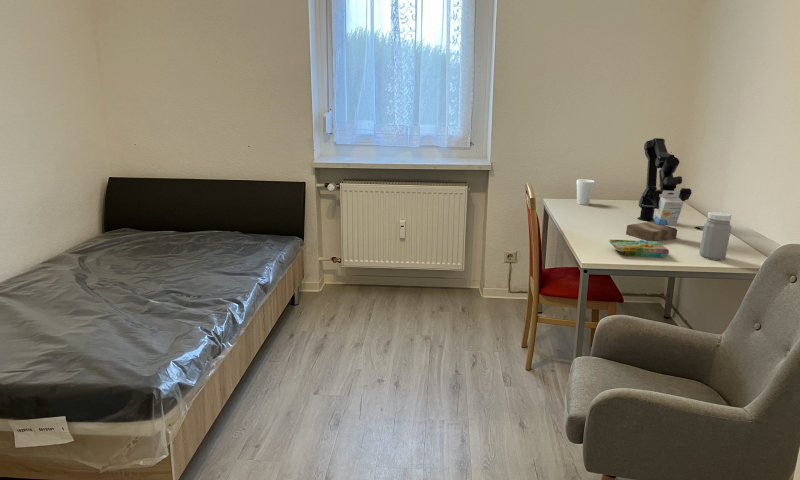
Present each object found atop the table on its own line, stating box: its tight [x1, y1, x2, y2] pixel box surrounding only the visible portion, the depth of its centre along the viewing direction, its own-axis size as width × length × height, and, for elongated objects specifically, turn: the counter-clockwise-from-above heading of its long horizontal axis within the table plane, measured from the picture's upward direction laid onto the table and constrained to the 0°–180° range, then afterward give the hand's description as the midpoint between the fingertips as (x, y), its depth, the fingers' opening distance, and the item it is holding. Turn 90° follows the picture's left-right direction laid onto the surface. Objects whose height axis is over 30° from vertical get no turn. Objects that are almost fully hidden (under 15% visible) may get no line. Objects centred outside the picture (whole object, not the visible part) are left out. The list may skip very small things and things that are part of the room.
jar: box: [699, 211, 732, 261], centre depth 243 cm, size 10×10×18 cm
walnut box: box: [625, 221, 678, 242], centre depth 273 cm, size 16×14×5 cm
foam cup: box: [576, 178, 596, 206], centre depth 335 cm, size 10×9×13 cm
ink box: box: [653, 190, 684, 226], centre depth 268 cm, size 8×5×15 cm, turn 94°
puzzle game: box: [609, 239, 670, 258], centre depth 247 cm, size 12×5×20 cm
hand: (668, 208), depth 268 cm, fingers closed on ink box, 9 cm apart
